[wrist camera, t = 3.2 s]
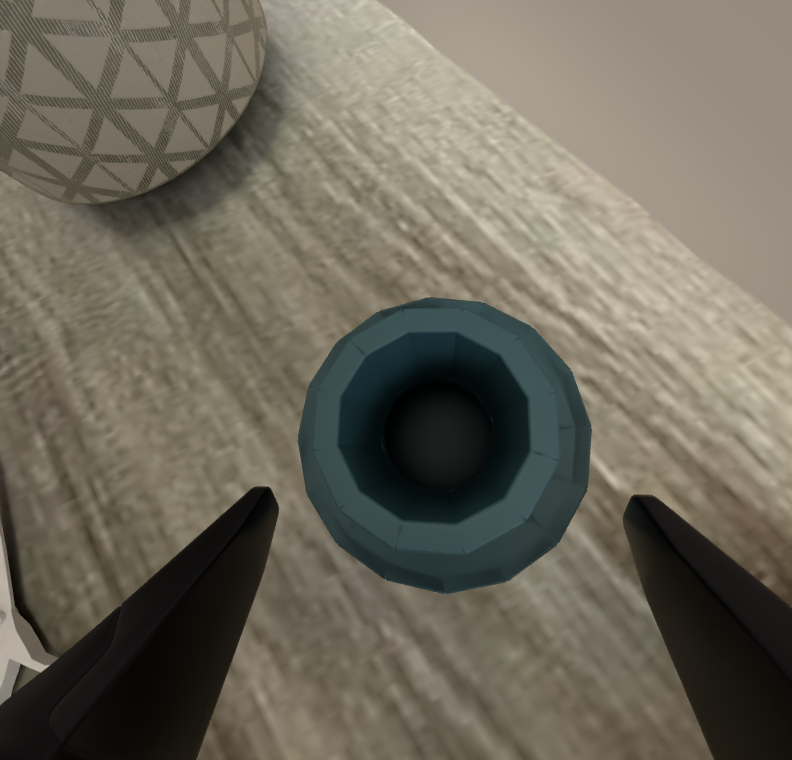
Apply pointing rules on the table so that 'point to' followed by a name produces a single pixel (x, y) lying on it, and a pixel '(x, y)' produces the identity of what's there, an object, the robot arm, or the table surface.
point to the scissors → (15, 634)
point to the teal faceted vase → (445, 445)
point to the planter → (121, 90)
